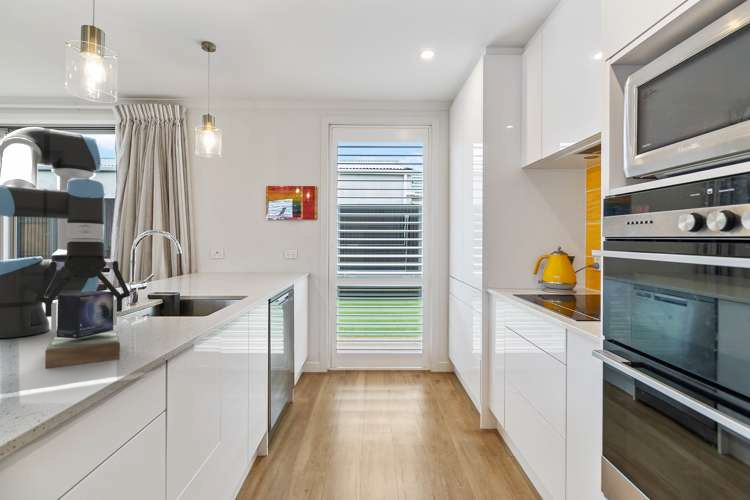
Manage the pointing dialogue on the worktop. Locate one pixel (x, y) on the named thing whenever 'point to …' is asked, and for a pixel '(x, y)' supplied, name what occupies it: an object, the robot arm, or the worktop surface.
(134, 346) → the worktop surface
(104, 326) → the small box
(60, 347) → the base block
